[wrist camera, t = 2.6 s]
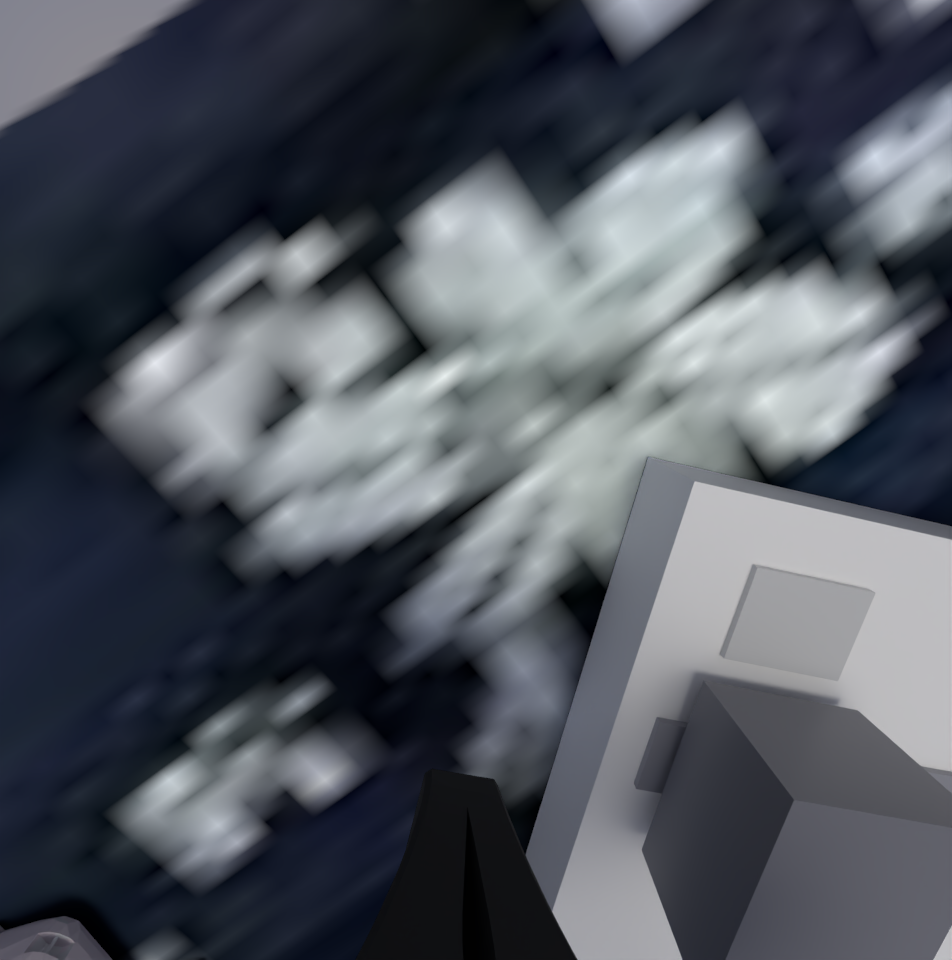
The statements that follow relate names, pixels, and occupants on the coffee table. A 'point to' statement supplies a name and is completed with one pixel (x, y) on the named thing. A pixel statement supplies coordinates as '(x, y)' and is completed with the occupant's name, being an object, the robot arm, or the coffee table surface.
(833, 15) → the coffee table surface
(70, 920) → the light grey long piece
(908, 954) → the switch lever
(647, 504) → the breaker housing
